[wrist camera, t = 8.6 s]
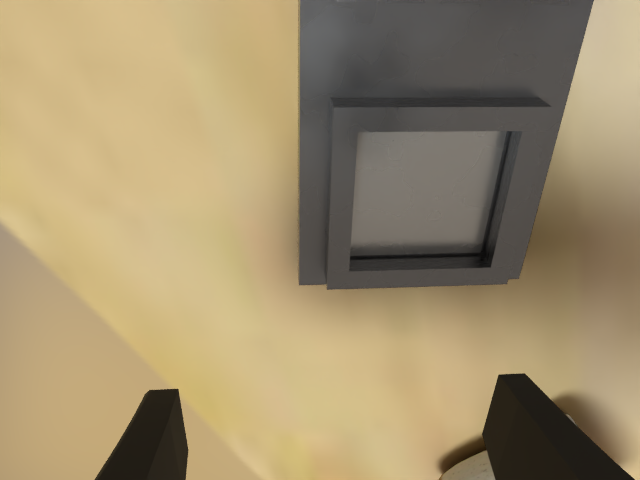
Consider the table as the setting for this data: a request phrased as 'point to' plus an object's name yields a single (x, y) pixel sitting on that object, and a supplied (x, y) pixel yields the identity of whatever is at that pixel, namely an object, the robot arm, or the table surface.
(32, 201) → the table surface
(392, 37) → the panel
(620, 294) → the table surface
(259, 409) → the table surface
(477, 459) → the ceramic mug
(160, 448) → the robot arm
